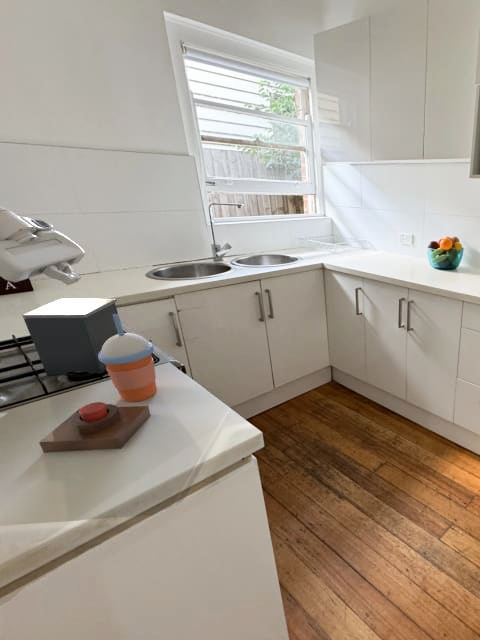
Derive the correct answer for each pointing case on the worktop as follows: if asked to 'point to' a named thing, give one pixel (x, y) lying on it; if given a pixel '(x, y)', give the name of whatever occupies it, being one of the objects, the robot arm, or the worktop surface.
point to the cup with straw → (129, 364)
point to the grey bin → (72, 341)
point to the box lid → (70, 308)
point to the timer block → (96, 430)
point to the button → (93, 411)
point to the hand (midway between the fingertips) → (75, 281)
